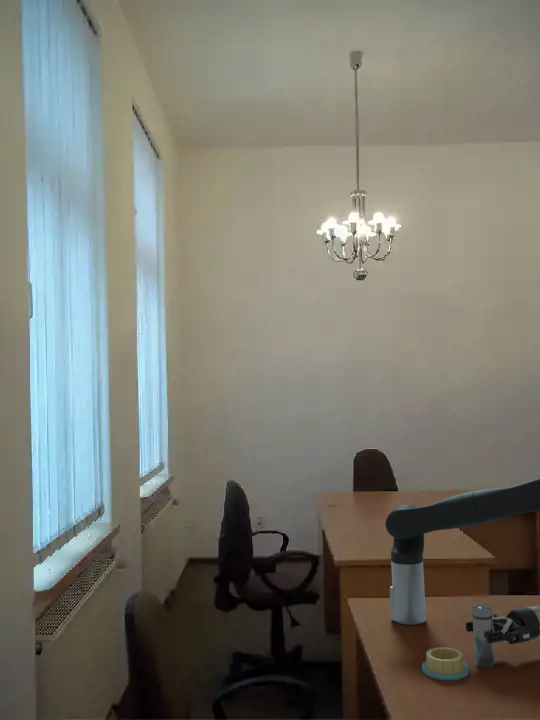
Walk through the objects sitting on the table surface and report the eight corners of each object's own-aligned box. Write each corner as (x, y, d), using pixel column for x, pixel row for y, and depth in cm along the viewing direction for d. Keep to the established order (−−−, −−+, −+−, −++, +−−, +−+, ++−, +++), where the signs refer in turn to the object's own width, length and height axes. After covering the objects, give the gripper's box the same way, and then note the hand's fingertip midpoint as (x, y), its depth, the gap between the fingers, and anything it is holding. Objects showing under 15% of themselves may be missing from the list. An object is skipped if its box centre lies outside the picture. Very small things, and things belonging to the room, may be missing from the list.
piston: (472, 666, 171) (469, 608, 172) (478, 659, 175) (475, 602, 176) (491, 670, 169) (488, 611, 169) (497, 663, 173) (494, 605, 173)
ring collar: (414, 674, 168) (414, 657, 168) (432, 658, 177) (431, 642, 177) (459, 684, 162) (458, 666, 162) (475, 667, 171) (474, 650, 171)
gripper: (512, 599, 184) (458, 608, 178) (550, 616, 170) (493, 626, 165) (513, 628, 183) (460, 638, 178) (552, 647, 170) (495, 658, 165)
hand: (476, 632), depth 172 cm, fingers open, 8 cm apart
